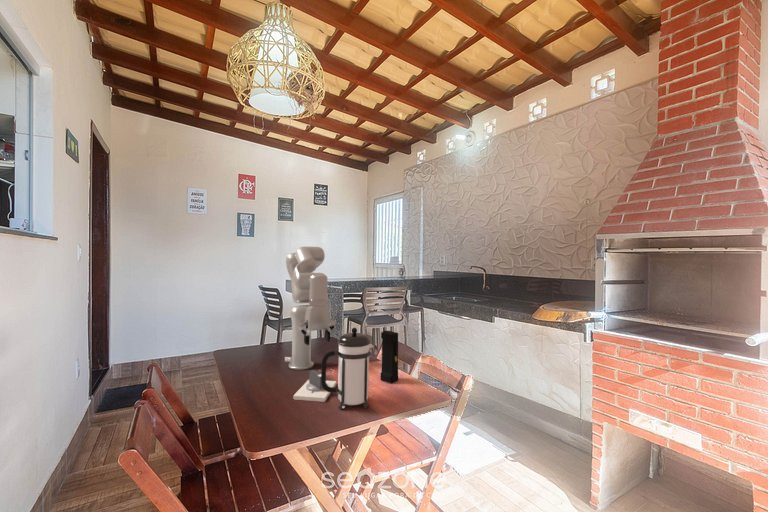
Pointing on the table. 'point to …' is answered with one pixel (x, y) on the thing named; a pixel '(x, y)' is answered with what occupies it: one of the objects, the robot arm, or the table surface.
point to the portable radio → (389, 356)
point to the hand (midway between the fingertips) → (317, 342)
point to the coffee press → (350, 369)
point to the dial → (314, 381)
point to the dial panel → (313, 393)
